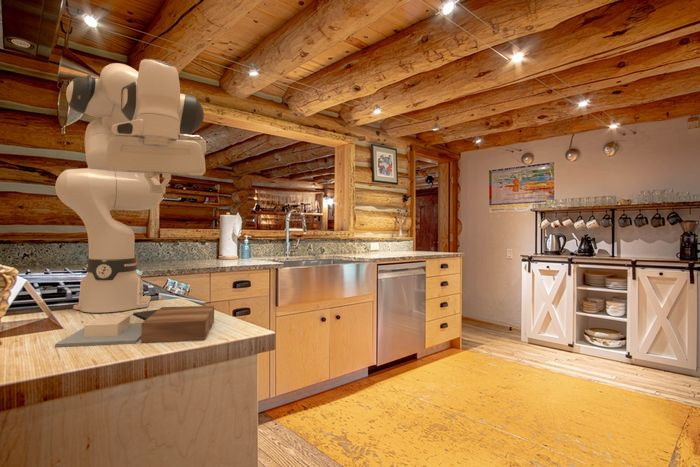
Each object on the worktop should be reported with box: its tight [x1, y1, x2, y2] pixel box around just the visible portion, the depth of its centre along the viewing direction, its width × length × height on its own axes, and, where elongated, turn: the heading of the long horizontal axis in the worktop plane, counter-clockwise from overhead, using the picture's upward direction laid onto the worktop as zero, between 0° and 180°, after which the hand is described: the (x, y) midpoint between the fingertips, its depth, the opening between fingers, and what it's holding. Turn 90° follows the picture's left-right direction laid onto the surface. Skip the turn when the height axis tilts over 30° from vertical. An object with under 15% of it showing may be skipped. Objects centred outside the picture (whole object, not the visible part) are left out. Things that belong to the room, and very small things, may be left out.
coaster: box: [83, 315, 131, 338], centre depth 81 cm, size 8×6×2 cm
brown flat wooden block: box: [140, 305, 215, 344], centre depth 85 cm, size 16×12×4 cm
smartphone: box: [132, 309, 159, 321], centre depth 98 cm, size 7×1×15 cm
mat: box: [54, 322, 142, 348], centre depth 81 cm, size 15×14×1 cm
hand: (157, 193), depth 86 cm, fingers closed
